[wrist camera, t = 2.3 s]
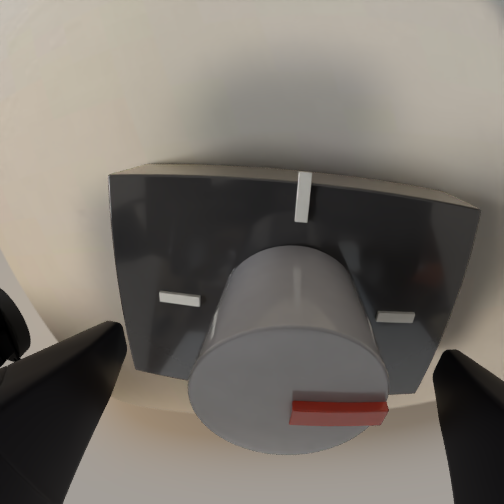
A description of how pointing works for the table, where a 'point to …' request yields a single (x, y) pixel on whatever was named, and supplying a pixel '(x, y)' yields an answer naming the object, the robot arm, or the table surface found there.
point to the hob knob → (289, 357)
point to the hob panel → (282, 234)
